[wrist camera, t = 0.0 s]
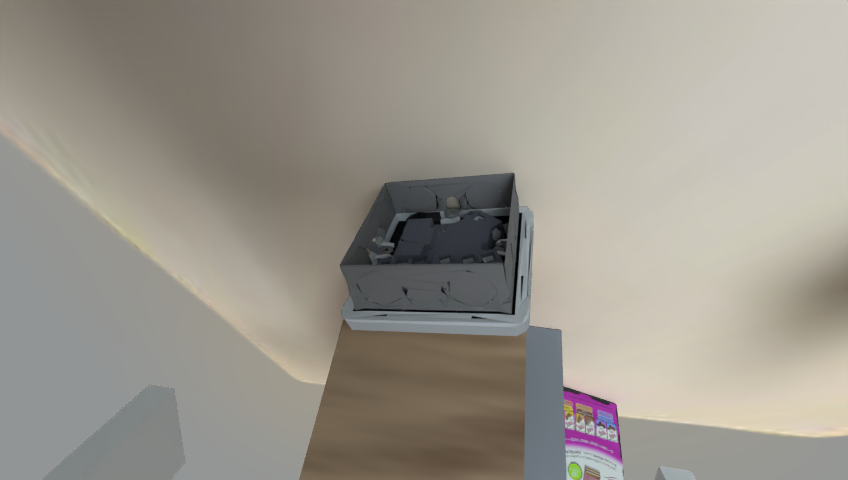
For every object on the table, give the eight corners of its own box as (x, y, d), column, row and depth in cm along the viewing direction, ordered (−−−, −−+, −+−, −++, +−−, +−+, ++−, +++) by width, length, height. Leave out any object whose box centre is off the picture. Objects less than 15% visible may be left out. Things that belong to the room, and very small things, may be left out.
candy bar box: (522, 388, 54) (520, 543, 45) (549, 380, 50) (551, 548, 41) (589, 409, 58) (599, 558, 48) (618, 403, 54) (635, 564, 45)
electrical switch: (392, 220, 29) (354, 345, 23) (366, 160, 25) (313, 291, 19) (534, 213, 26) (533, 354, 20) (529, 145, 22) (526, 292, 16)
